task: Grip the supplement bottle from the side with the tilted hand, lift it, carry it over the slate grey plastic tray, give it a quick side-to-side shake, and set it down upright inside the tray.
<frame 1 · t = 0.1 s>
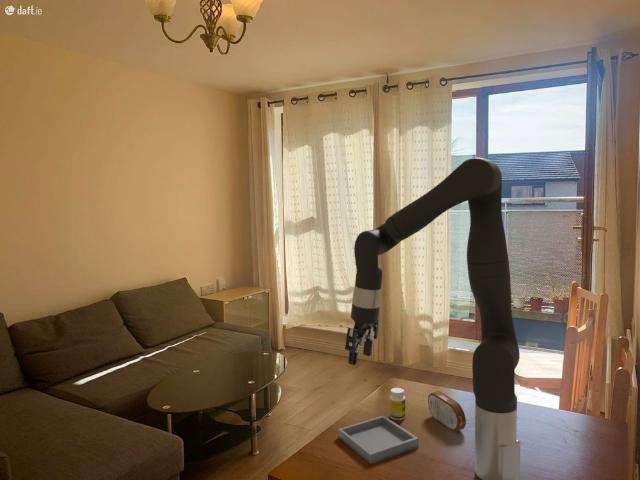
hand: (359, 359, 130), 22 cm above the table, tool pointing down, fingers open, 8 cm apart
tray: (377, 442, 129), on the table
supplement bottle: (397, 417, 144), on the table
tin: (445, 425, 139), on the table
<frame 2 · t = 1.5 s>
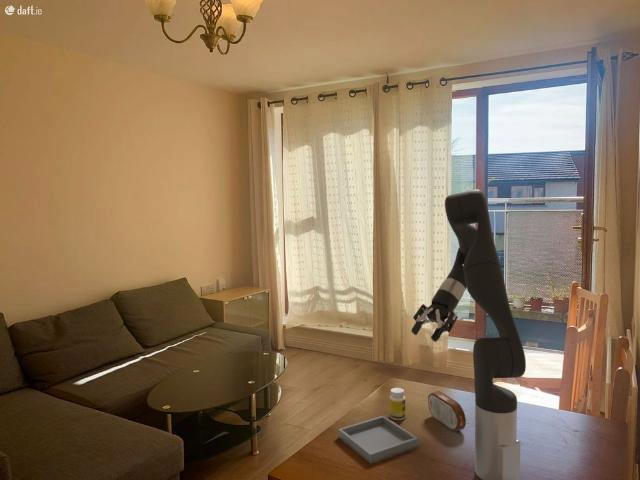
hand: (423, 336, 148), 23 cm above the table, tool tilted 45°, fingers open, 8 cm apart
nothing on the table moved.
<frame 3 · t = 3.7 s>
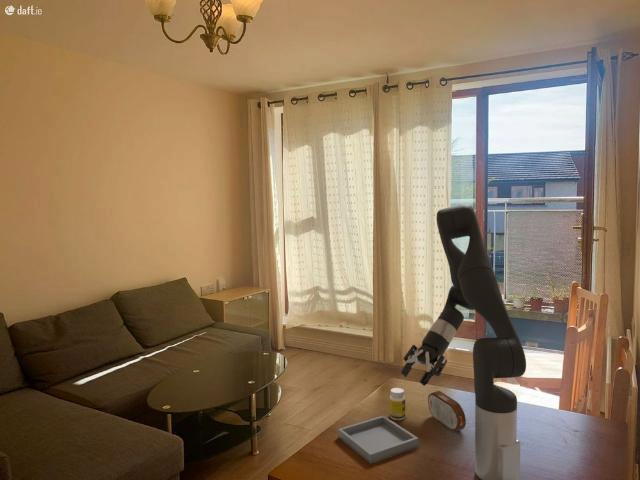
hand: (412, 379, 146), 10 cm above the table, tool tilted 45°, fingers open, 8 cm apart
nothing on the table moved.
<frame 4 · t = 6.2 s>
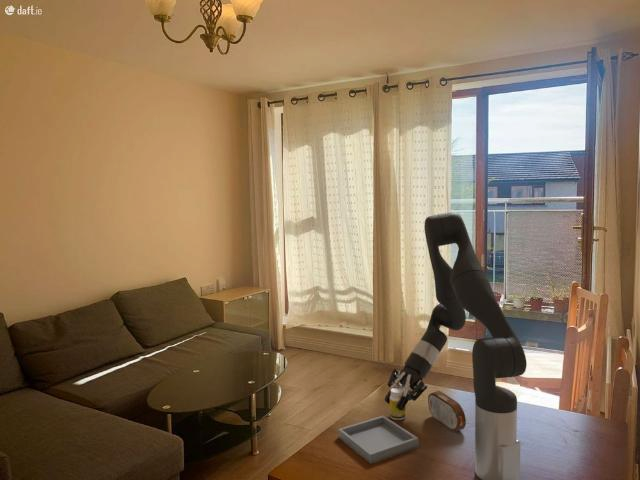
hand: (392, 405, 143), 4 cm above the table, tool tilted 45°, fingers closed on supplement bottle, 4 cm apart
supplement bottle: (397, 417, 144), on the table, touching gripper
everything else where it was.
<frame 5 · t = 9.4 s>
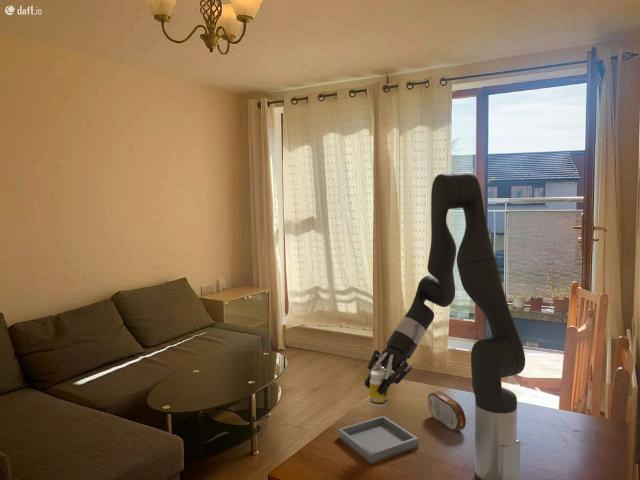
hand: (373, 389, 126), 16 cm above the table, tool tilted 45°, fingers closed on supplement bottle, 4 cm apart
supplement bottle: (378, 403, 128), point 11 cm above the table, touching gripper
everything else where it was.
when the fingers open (6 cm above the table, at t = 12.6 s): supplement bottle drops 1 cm, resting on tray.
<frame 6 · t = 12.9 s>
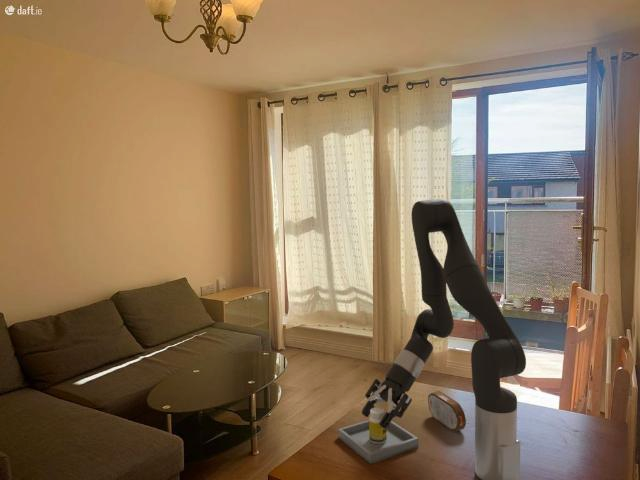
hand: (372, 420, 128), 7 cm above the table, tool tilted 45°, fingers open, 7 cm apart
supplement bottle: (378, 440, 130), resting on tray
everything else where it was.
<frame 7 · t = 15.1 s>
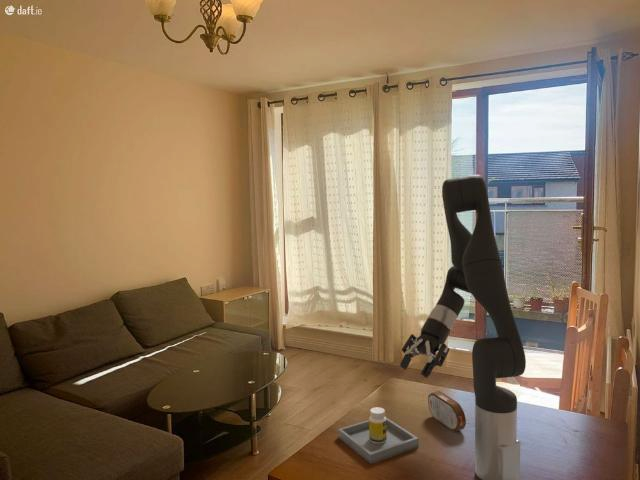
hand: (412, 372, 134), 17 cm above the table, tool tilted 45°, fingers open, 8 cm apart
nothing on the table moved.
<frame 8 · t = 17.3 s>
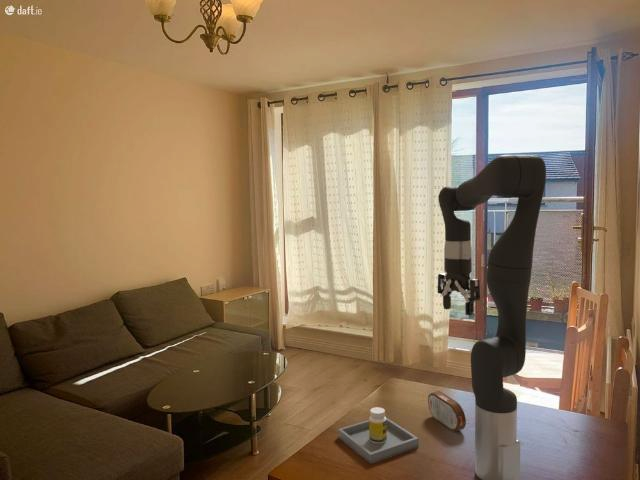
hand: (457, 311, 137), 33 cm above the table, tool pointing down, fingers open, 8 cm apart
nothing on the table moved.
at the end: supplement bottle inside the target area on the tray (0.2 cm from its centre), point 0.4 cm above the tray's base; supplement bottle tilted 0°; the gripper is holding nothing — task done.
